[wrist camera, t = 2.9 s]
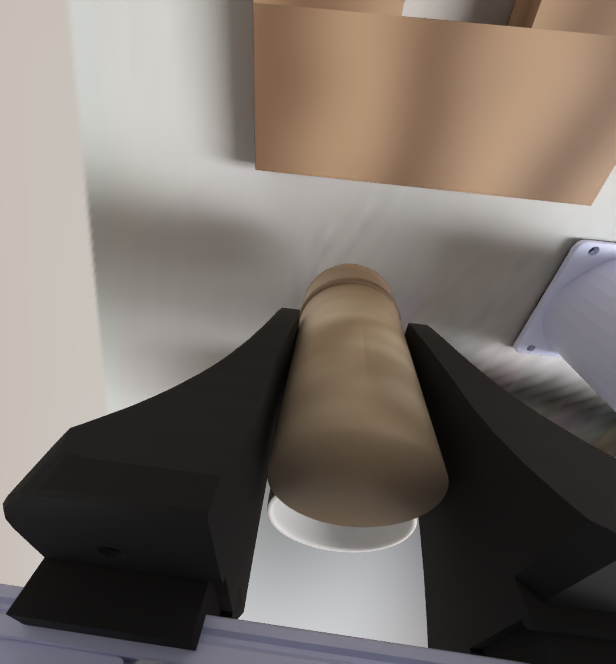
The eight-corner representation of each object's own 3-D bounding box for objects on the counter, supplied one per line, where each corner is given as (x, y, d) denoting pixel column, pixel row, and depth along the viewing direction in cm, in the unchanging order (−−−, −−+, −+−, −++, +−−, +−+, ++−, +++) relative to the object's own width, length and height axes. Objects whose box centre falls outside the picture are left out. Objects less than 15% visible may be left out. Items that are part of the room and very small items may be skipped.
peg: (400, 259, 12) (483, 443, 5) (379, 334, 14) (418, 537, 7) (309, 249, 12) (264, 414, 5) (302, 325, 14) (264, 516, 7)
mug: (271, 401, 27) (241, 521, 19) (328, 338, 23) (322, 459, 14) (372, 453, 30) (385, 576, 22) (441, 406, 26) (490, 539, 17)
